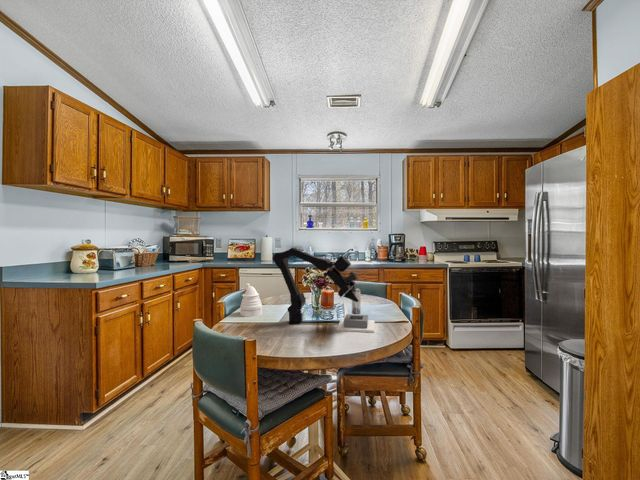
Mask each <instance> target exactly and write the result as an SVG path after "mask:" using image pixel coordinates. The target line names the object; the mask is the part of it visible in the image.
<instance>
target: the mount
mask: <svg viewBox="0 0 640 480" xmlns="http://www.w3.org/2000/svg"><path fill="white" fill-rule="evenodd" d="M375 324H376V323H375V320H374V319H369V315H368V314H352V313H351V314H346V315H345V316H344V318H341V319H340V321H339V323H338V325H337V327H336V332H351V333H352V332H353V333H375Z"/></svg>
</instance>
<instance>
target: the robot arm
mask: <svg viewBox="0 0 640 480" xmlns="http://www.w3.org/2000/svg"><path fill="white" fill-rule="evenodd" d="M292 257H295V258H297V259H300V260H302V261H305V262H307V263H309V264H311V265H313V266H314V267H315V268H317V269H319V271H321V272H323V278H324V279H326V278H327V277H328V278H329V279H330V280H331V282H333V285H334V286H336V287H337V288H338V289H339V290H338V291H337V295H338V296H339V297H340V298H342V297H343V298H346V299H348V300H351V301H352V300H353V301H355V302H358V301H359V300H358V299H357V297H356V296H355V295H354V293H353V292H352V288H356V282H355V281H356V280H358V274H357V273H356V272H354V271H351V272H349V275H347V276H346V275H343V274H341V272H342V273H344V272H346V270H347V269H348V268H349V267H350V266H352V263H351V261H350V260H349V259H348V258H346V257H344V256H343V255H340V256H339V257H338V258H337V259H336V261H331V260H330V259H328V258H324V257H318V256H315V255H312V254H310V253H308V252H306V251H303V250H300V249H298V248H297V247H291V248H290V249H287V250H285V251H281V252H276V253H274V254H273V257H272V261H273V263H274V264H275V265H276V267H277V268H278V269H279V270H280V272H281V274H282V277H283V281H284V282H285V284H286V286H287V289H288V292H289V295H290V296H289V297H290V298H289V299H290V305H289V306H288V307H287V311H288V322H287V323H288V324H291V325H292V324H295V325H300V324H301V323H302V322H303V320H304V319H303V318H304V317H303V315H304V314H303V311H302V310H303V308H304V306H305V305H306V303H307V302H306V297H305V294H304V292H301V291H299V289H298V287H297V284H296V281H295V280H294V277H293V275H292V272H291V270H290V266H289V258H292Z"/></svg>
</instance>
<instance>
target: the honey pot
mask: <svg viewBox="0 0 640 480" xmlns="http://www.w3.org/2000/svg"><path fill="white" fill-rule="evenodd" d="M245 287H247V289H246V290H245V292H244V293H243V294H242V295H241V296H242V299H241V303H240V306H239V308H240V309H239V312H240V316H241V317H245V316H248V317H249V318H251V317H258V316H261V315H262V314H263V304H262V301H261V298H260V293H258V292H257V290H256V288H255V287H254V286H252V285H251V283H245Z"/></svg>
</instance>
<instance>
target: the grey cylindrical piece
mask: <svg viewBox="0 0 640 480" xmlns="http://www.w3.org/2000/svg"><path fill="white" fill-rule="evenodd" d="M352 292H353V293H354V295H355V296H356V297H357V299H358V300H359V301H358V302H355V301H353V300H351V315H362V314H361V312H362V311H361V307H362V306H361V302H362V301H361V297H362V296H361V288H359V287H355V288H352Z"/></svg>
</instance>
